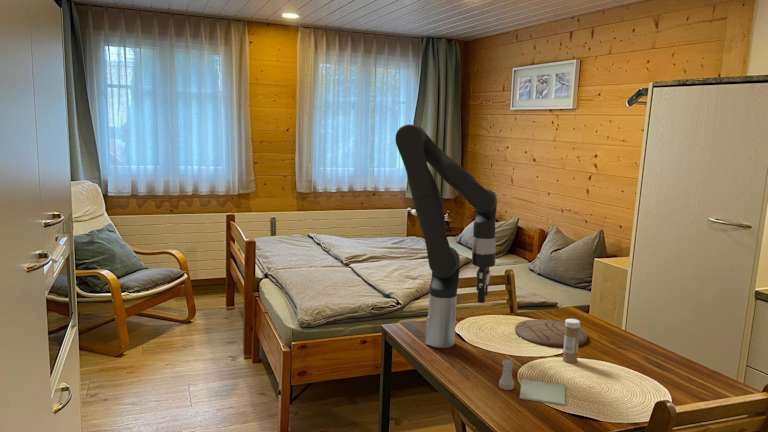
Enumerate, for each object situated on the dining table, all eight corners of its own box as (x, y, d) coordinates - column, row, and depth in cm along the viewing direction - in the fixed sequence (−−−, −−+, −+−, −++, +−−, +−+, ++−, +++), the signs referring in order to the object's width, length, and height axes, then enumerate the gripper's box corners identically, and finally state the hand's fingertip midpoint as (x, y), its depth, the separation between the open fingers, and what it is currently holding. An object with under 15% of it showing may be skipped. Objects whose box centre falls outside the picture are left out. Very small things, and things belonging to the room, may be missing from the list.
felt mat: (519, 398, 160) (519, 396, 160) (521, 380, 171) (521, 379, 171) (565, 405, 157) (565, 403, 157) (564, 386, 168) (564, 385, 168)
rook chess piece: (496, 383, 169) (498, 357, 167) (511, 383, 169) (513, 357, 168) (500, 390, 164) (502, 363, 163) (516, 390, 165) (518, 363, 163)
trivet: (535, 350, 196) (535, 345, 196) (503, 325, 220) (503, 320, 220) (601, 346, 202) (601, 341, 202) (563, 322, 226) (563, 318, 226)
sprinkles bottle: (579, 361, 187) (583, 321, 185) (570, 364, 184) (574, 323, 182) (568, 356, 191) (571, 317, 189) (559, 359, 188) (562, 319, 186)
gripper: (475, 246, 198) (474, 292, 200) (469, 254, 185) (468, 304, 187) (497, 247, 196) (496, 294, 198) (493, 255, 183) (492, 306, 185)
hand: (482, 298), depth 193 cm, fingers open, 8 cm apart
